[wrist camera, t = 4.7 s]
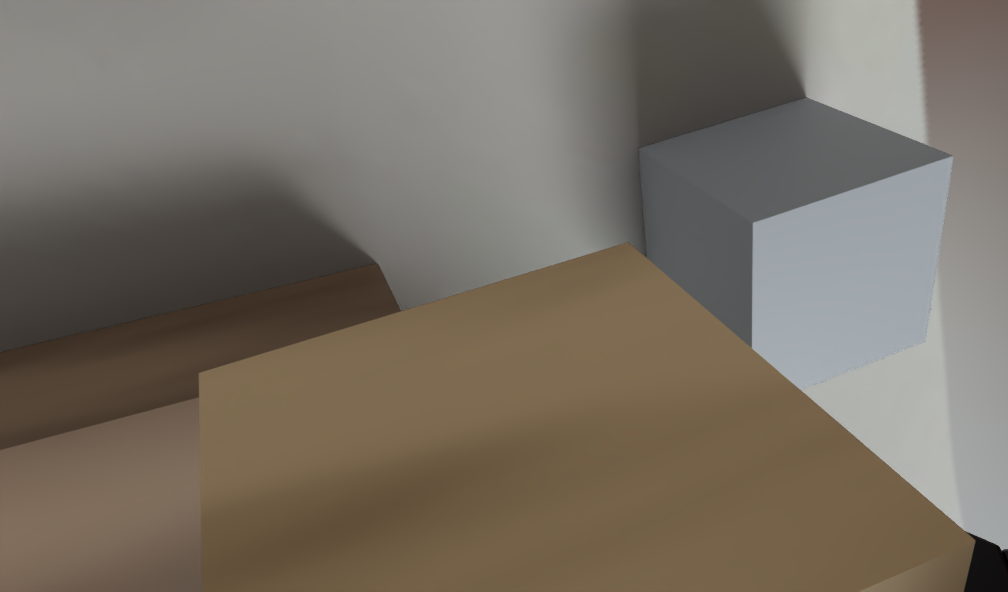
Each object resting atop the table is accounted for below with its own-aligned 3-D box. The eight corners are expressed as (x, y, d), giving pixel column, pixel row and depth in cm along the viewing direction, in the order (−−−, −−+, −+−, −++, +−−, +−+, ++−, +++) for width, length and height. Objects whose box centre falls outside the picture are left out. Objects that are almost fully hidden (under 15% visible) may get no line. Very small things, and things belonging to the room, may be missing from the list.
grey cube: (797, 257, 24) (925, 341, 20) (649, 308, 23) (751, 409, 19) (804, 96, 21) (953, 155, 17) (636, 147, 20) (752, 223, 16)
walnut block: (428, 539, 25) (467, 646, 21) (84, 653, 22) (68, 794, 19) (374, 256, 20) (414, 340, 16) (-82, 364, 17) (-144, 488, 14)
